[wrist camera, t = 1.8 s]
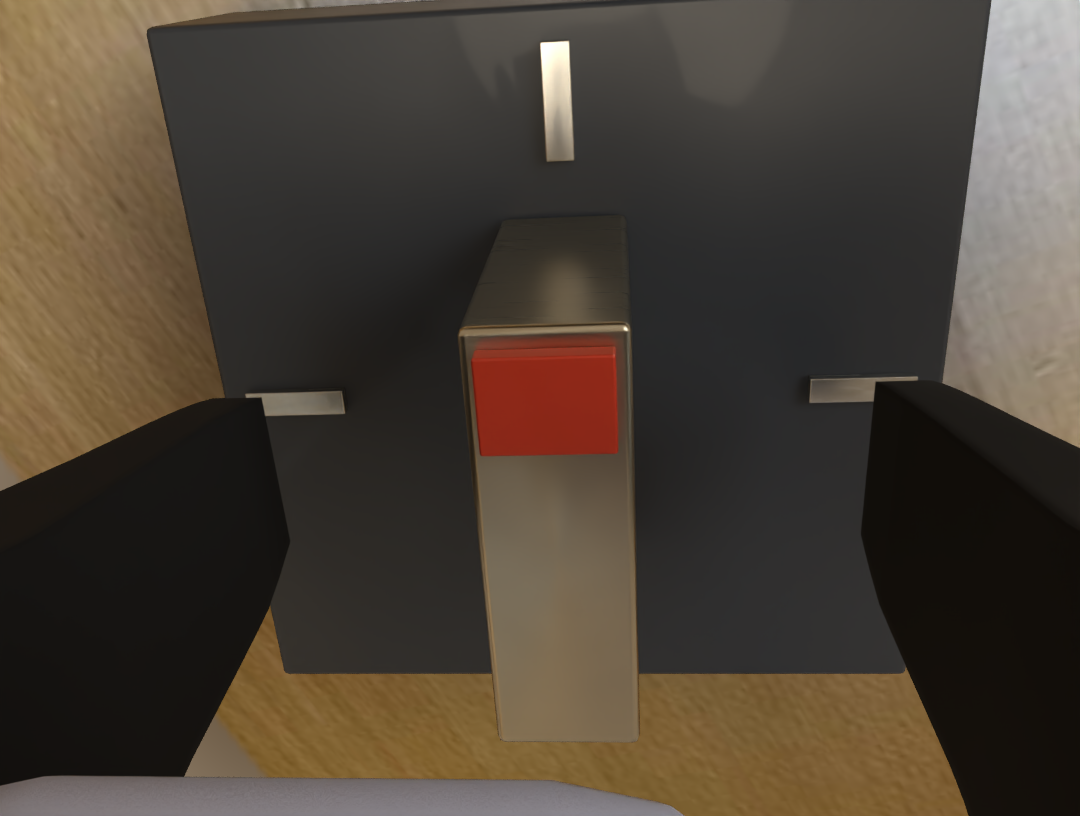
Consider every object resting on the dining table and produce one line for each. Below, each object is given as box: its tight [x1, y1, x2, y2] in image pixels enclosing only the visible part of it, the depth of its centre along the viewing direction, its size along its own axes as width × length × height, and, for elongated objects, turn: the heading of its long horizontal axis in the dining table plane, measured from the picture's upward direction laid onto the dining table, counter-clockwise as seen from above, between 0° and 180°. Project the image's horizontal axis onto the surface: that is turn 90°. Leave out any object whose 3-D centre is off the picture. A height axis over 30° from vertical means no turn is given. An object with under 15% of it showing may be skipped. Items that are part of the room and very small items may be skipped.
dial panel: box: [147, 0, 991, 674], centre depth 15 cm, size 10×10×3 cm
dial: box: [458, 215, 640, 742], centre depth 12 cm, size 5×2×4 cm, turn 3°
